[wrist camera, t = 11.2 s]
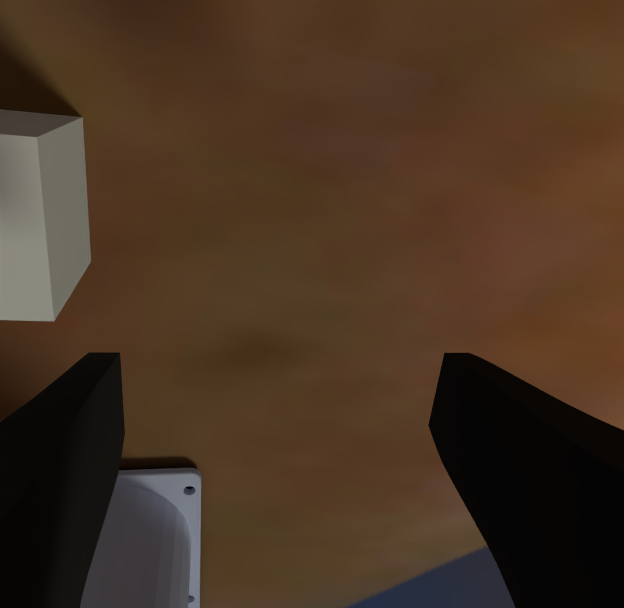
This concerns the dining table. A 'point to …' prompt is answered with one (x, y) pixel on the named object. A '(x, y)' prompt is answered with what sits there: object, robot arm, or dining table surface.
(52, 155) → the marked cube
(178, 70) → the dining table surface
